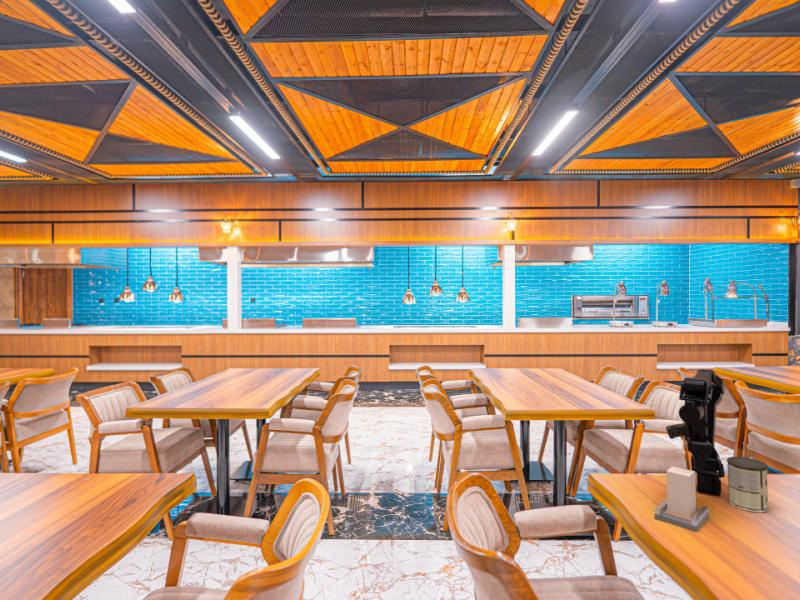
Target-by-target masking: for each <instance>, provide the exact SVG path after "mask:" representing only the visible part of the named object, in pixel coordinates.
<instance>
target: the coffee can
mask: <svg viewBox="0 0 800 600" xmlns="http://www.w3.org/2000/svg"><path fill="white" fill-rule="evenodd" d="M726 462H727V484H728V485H727V488H728V489H727V490H728V492H727V493H728V500H727V501H728V503H729V504H730V506H732V505H733V507H734V506H735V507H734V508H736V507H737V509H740V510H741V511H745V510H746V512H751V513H763V514H764V513H766V512H768V511H769V499H768V497H769V495H768V490H769V489H768V464H767V463H765V462H763V461H762V460H758V459H755V458H750V457H746V456H729V457H727V458H726Z"/></svg>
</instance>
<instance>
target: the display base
mask: <svg viewBox="0 0 800 600" xmlns="http://www.w3.org/2000/svg"><path fill="white" fill-rule="evenodd" d="M709 518H710V512H709V506H706V505H703V506H702V508H700V509H699V508H696V513H695V514H694V515H693V517H692V518H691V519H688V518H685V517H682V516H678V515H675V514H672V513H668V512H667V497H666V498H665V499H664V500H663V501H662V502H661V503H659V504H658V505H657V506H656V507H655V508H654V519H655V520H659V521H660V522H664V523H668V524H671V525H673V526H678V527H680V528H684V529H686V530H690V531H693V532H695V533H697V532H698V531H699V530H700V529H701V527H703V525H704V524H705V523H706V522H707V520H708V519H709ZM705 521H706V522H705ZM704 522H705V523H704Z"/></svg>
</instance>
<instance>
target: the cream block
mask: <svg viewBox="0 0 800 600" xmlns="http://www.w3.org/2000/svg"><path fill="white" fill-rule="evenodd" d="M696 492H697V489H696V473H695V471H692V469H686V468H681V467H678V466H674V465H673V466H671V467H669V468H668V469H667V470H666V498H667V512H668V513H672V514H675V515H678V516H682V517H685V518H688V519H691V518H692V517H693V515H694V514H695V513H696V509H697V501H696V500H697V499H696V498H697V497H696Z"/></svg>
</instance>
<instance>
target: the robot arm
mask: <svg viewBox="0 0 800 600" xmlns="http://www.w3.org/2000/svg"><path fill="white" fill-rule="evenodd" d="M725 391H726V388H725V382H724V379H723V378H721V377H720V376H719V375H717V372H716V371H715V370H713V369H702V368H701V369H698V370H697V373H696V374H695V375H694V376H693V377H685V378H684V379H683V380H682V381H681V383H680V391H679V398H678V400H680V401H684V404H683V405H682V406H681V407H679V410H678V416H679V418H680V420H682V421H683V422H682V423H676V424H672V425H671V424H670V425H666V427H665V431H666V433H667V435H668V437H669V439H670V440H671V439H676V438H679V437H683V438H684V440H685V441H686V449H687V451H688V453H691V455H690V465H691V466H690V467H691V470H692V471H695V481H696V484H695V489H696V492H697V493H699V494H706V495H709V496H710V495H711V496H717V497H720V496H721V493H722V480H721V479H722V478H725V468H724V466H725V465H724V464H723V463H722V459H720V458H721V457H720V454H719V452H718V451H717V449H716V447H715V445H716V444H715V443H716V423H717V422H716V421H717V408H718V405H719V404H720V403H721V402H722V401H723V395H725V393H726V392H725Z"/></svg>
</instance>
